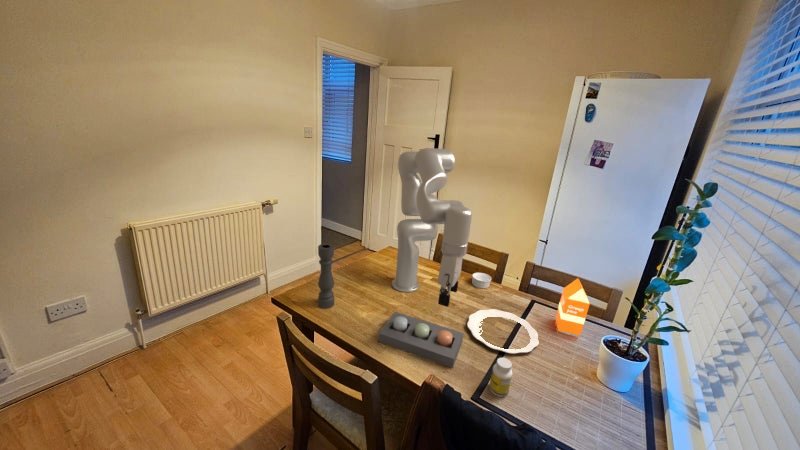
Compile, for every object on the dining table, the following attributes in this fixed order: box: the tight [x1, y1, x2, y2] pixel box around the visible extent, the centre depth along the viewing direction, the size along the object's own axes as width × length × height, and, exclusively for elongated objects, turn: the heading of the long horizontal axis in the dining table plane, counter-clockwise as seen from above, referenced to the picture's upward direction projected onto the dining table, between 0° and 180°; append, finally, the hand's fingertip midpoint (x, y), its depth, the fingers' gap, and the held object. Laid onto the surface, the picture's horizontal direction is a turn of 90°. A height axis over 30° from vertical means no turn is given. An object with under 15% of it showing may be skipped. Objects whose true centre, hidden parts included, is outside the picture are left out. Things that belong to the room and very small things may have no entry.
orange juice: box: [555, 278, 591, 336], centre depth 118 cm, size 8×9×20 cm
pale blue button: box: [393, 317, 407, 332], centre depth 109 cm, size 5×5×3 cm
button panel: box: [377, 311, 465, 369], centre depth 107 cm, size 14×26×4 cm, turn 67°
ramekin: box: [471, 272, 492, 289], centre depth 149 cm, size 9×9×4 cm
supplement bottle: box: [488, 357, 513, 398], centre depth 89 cm, size 5×5×10 cm
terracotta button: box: [437, 330, 453, 347], centre depth 104 cm, size 5×5×3 cm
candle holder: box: [317, 243, 335, 310], centre depth 121 cm, size 6×6×25 cm
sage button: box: [415, 323, 429, 340], centre depth 107 cm, size 5×5×3 cm
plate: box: [466, 308, 540, 355], centre depth 116 cm, size 25×25×2 cm
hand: (447, 297), depth 99 cm, fingers open, 9 cm apart
